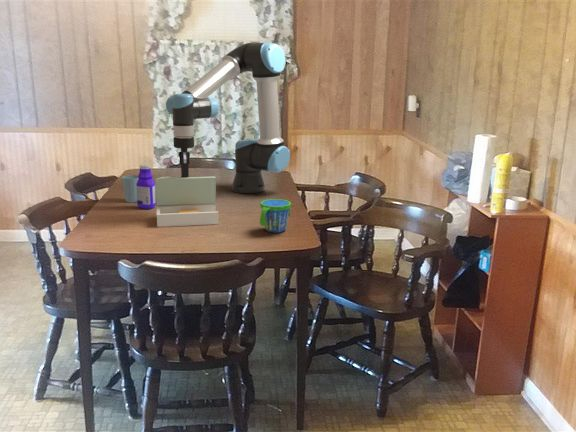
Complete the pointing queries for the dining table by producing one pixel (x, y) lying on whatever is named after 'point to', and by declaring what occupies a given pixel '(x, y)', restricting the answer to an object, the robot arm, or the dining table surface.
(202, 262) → the dining table surface
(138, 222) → the dining table surface
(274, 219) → the snack cup
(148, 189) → the bottle
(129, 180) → the cup
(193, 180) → the cover
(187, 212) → the orange rectangular block
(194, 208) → the grey rectangular box
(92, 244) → the dining table surface
